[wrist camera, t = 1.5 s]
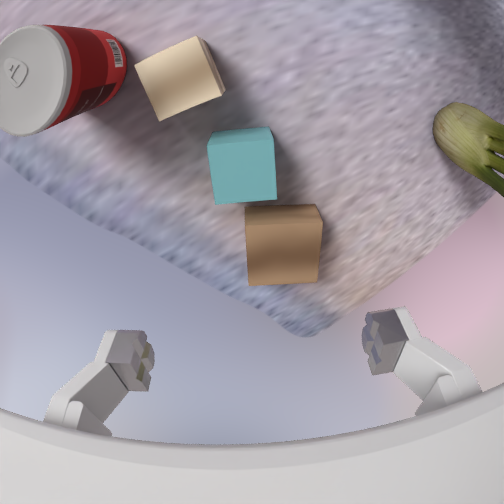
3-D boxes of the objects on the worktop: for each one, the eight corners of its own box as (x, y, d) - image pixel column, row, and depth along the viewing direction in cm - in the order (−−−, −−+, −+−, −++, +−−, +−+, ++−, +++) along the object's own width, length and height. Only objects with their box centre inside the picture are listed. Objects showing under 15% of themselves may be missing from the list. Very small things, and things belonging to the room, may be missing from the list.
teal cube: (213, 131, 26) (206, 145, 22) (268, 126, 26) (273, 139, 22) (219, 181, 29) (215, 204, 25) (272, 177, 29) (277, 199, 25)
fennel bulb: (444, 159, 27) (515, 211, 17) (416, 133, 26) (491, 179, 16) (469, 119, 24) (547, 158, 14) (442, 90, 23) (526, 120, 13)
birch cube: (152, 64, 22) (133, 65, 18) (205, 41, 21) (196, 35, 17) (173, 111, 25) (159, 121, 21) (225, 90, 24) (221, 95, 20)
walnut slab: (244, 205, 31) (244, 225, 27) (314, 203, 30) (323, 222, 27) (248, 262, 35) (248, 285, 31) (310, 259, 34) (316, 282, 31)
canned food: (80, 20, 18) (6, 14, 9) (145, 48, 21) (88, 44, 12) (48, 89, 22) (-27, 114, 13) (107, 119, 24) (43, 155, 15)
